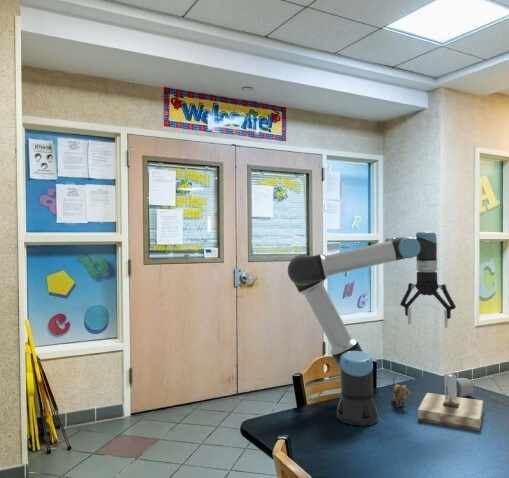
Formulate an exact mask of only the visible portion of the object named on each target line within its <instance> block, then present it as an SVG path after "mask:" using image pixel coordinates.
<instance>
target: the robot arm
mask: <svg viewBox="0 0 509 478" xmlns="http://www.w3.org/2000/svg"><path fill="white" fill-rule="evenodd" d="M437 241H438V240H437V234H436V232H433V231H421V232H420V231H418V232H416V233H415V236H414V237H413V236H405V237H403V236H402V237H399V236H398V237H386V239H384V242H380V243H376V244H370V245H367V246H363V247H359V248H358V247H357V248H354V249H350V250H344V251H340V252H336V253H332V254H328V255H323V254H316V255H308V254H298V255H295V256H294V257H292V258H291V260H290V261H289V264H288V266H287V276H288V277H289V279H290V281H291V282H292V283H293V284H294V286H295V288H296V289H297V291H298V293H299V294H302V295H304V297H305V298H306V300H307V303H308V304H309V306H310V308H311V309H312V312H313V314H314V316H315V318H316V320H317V321H318V324H319V325H320V327H321V329H322V332H324V334H325V336H326V338H327V341H328V342H329V344H330V346H331V351H330V354H331V356H332V358H333V360H334V362H335V363H336V366H337V368H338V370H339V374H340V375H339V376H340V399H339V401H338V406H337V408H336V418H338V419H339V420H340V421H342V422H345V423H347V424H346V425H348V424H352V425H364V426H363V427H366V426H365V425H370V426H373V425H375V423H376V424H377V423H379V421H378V420H380V419H379V418H380V417H379V416H380V415H379V411H378V409H377V405H376V403H375V399H374V374H373V372H374V371H373V369H374V363H373V358H372V356H371V355H370V354H368V353H366V352H364V351H363V349H362V347H361V345H360V343H359V341H358V340H357V339H355V338H352V337H351V335H350V333H349V331H348V329H347V327H346V326H345V325H346V324H344V321H343V319H342V317H341V316H340V314H339V312H338V311H337V308H336V306H335V305H334V302H333V301H332V299H331V297H330V295H329V293H328V291H327V289H326V287H325V285H324V283H325V280H327V279H328V278H329V277H330V276H334V275H338V274H343V273H348V272H352V271H356V270H362V269H365V268H368V267H369V268H371V267H373V266H378V265H382V264H386V263H390V262H396V261H400V260H404V259H412V258H416V271H417V272H416V283H412V282H409V283H408V286H407V290H406V292H405V293H404V295H403V298H402V300H401V301H400V304H399V305H400V306H401V307H403V308H404V315H405V316H406V317H407V325H411V324H412V306H411V305H412V304H413V303H414V302H415V301H416V300H417V299H418V298H419V297H420V295H422V296H434V297H435V298H436V299H437V301H438V302H439V303H440V304H441V305H442V306H443V308H445V309H444V313H443V314H444V315H443V316H444V329H447V328H448V327H449V320H450V319H451V317H452V313H451V312H452V310H455V309H456V307H457V306H456V304H455V302H454V300H453V299H452V297H451V295H450V293H449V292H448V289H447V288H448V287H447V284H446V283H444V284H439V283H438V272H437V271H438V257H437V255H438V254H437V253H438V252H437V251H438V249H437V248H438V242H437ZM415 288H416V289H417V291H416V292H415V294H414V295H413V296H412V297H411V298H410V299H409V301H408V298H409V297H410V295H411V293H412V291H413V290H414V289H415ZM438 289H440V290H441V291H442V292H443V295H444V297H445V298H446V300H447V302H448V303H447V302H446V301H445V299H444V298H443V297H442V296H441V295H440V293H439V292H438ZM410 306H411V307H410ZM338 419H337V420H338ZM339 420H338V421H339ZM340 421H339V422H340ZM342 422H341V423H342ZM352 425H351V426H352Z"/></svg>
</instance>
